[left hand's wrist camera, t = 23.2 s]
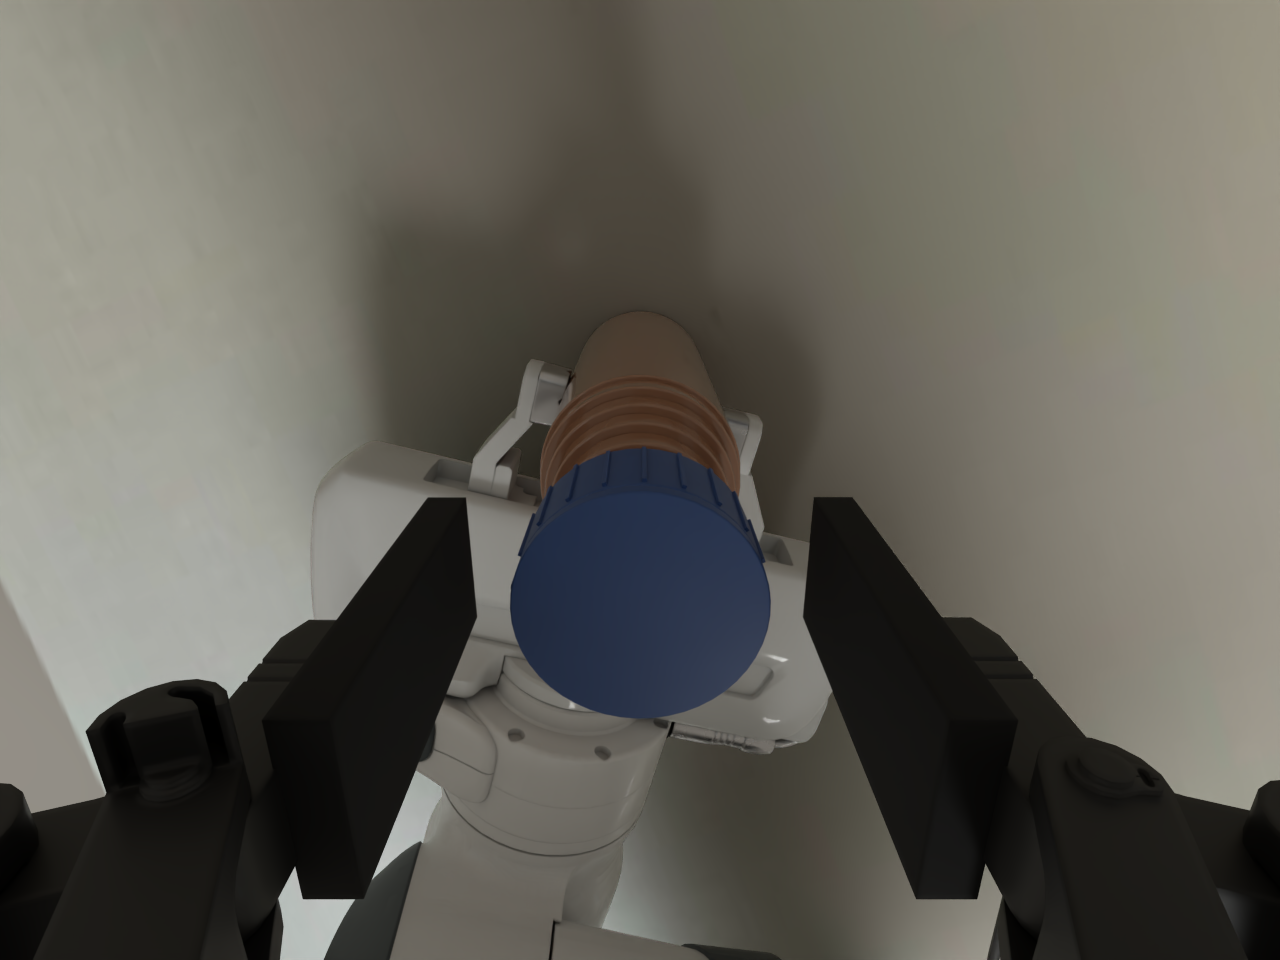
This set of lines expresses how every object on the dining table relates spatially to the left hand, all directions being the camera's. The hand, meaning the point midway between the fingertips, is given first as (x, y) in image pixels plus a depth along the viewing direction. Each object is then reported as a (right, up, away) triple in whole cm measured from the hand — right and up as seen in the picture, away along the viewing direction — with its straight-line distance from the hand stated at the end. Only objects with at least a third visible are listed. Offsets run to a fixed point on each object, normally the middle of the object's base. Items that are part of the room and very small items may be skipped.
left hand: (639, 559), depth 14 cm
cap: (0, -1, -2) cm, 2 cm away
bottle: (0, +6, +16) cm, 18 cm away
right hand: (0, +5, +10) cm, 11 cm away
